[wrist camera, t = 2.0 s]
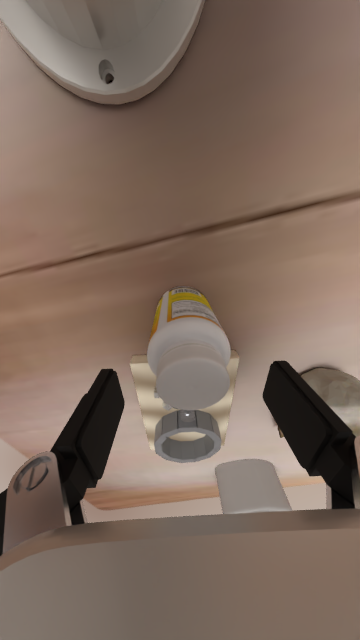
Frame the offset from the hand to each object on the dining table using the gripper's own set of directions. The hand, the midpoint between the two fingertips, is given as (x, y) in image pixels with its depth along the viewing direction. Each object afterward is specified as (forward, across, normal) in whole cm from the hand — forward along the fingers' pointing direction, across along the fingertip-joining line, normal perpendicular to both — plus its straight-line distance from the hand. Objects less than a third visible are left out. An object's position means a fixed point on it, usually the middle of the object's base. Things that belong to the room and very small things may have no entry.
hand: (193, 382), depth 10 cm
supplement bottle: (+9, 0, -1) cm, 9 cm away
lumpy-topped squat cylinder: (+11, -13, +40) cm, 43 cm away
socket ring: (+8, 0, +19) cm, 21 cm away
